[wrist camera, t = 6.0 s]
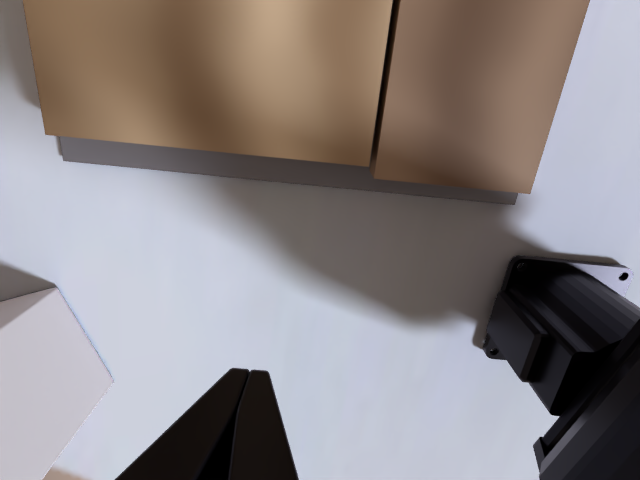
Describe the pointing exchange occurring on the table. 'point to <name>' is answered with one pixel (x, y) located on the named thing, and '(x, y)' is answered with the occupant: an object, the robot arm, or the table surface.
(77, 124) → the oak plank
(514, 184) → the walnut plank
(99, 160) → the underlay mat
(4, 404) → the milk carton
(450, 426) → the table surface
